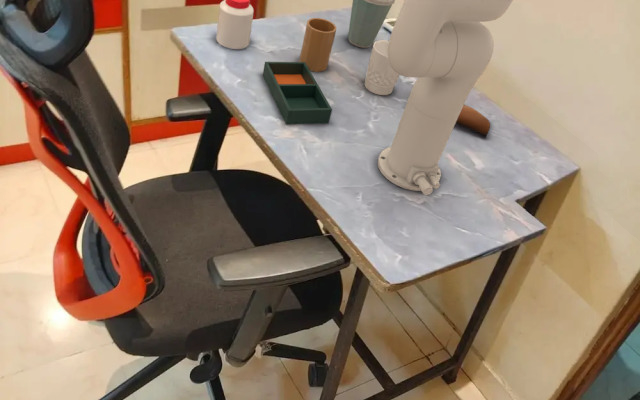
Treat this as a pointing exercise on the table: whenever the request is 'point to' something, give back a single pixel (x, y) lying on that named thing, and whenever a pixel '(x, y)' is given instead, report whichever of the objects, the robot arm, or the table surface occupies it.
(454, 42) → the robot arm
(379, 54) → the white cup
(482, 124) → the sunglasses case
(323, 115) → the divided tray
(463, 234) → the table surface
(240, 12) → the pill bottle
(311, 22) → the wooden cup
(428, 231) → the table surface
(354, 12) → the disposable coffee cup
